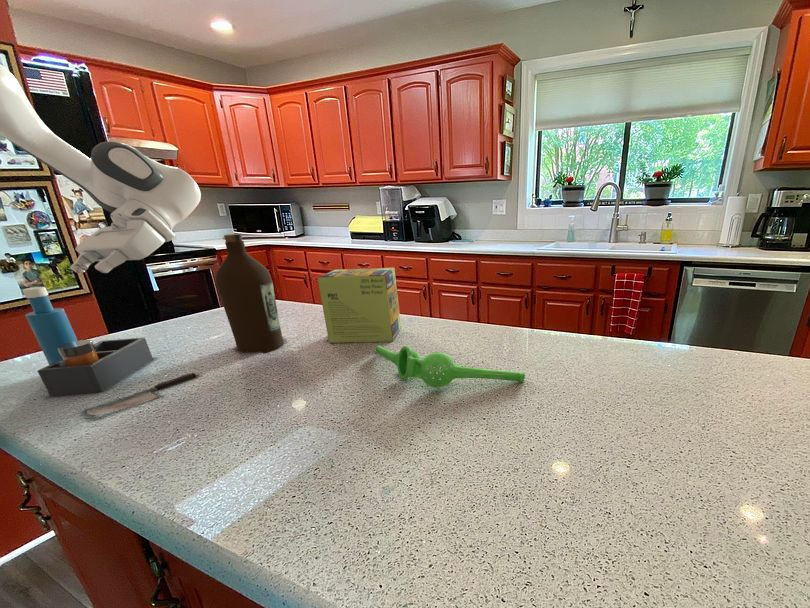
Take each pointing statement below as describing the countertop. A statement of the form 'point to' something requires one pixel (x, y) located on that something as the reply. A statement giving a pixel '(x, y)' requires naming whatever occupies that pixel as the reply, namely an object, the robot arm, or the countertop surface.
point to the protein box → (360, 305)
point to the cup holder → (97, 368)
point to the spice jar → (78, 353)
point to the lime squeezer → (421, 368)
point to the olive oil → (248, 299)
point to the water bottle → (48, 323)
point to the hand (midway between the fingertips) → (87, 270)
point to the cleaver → (140, 396)
